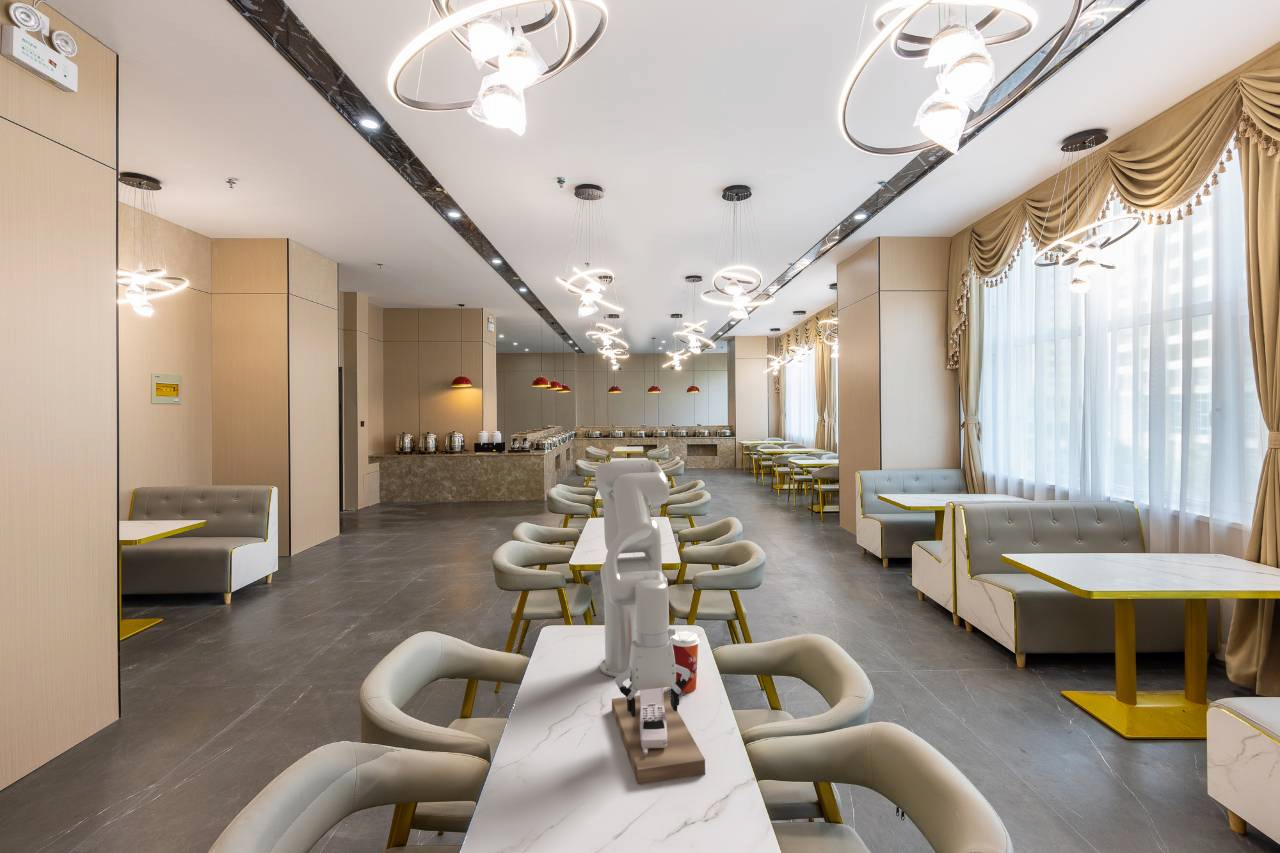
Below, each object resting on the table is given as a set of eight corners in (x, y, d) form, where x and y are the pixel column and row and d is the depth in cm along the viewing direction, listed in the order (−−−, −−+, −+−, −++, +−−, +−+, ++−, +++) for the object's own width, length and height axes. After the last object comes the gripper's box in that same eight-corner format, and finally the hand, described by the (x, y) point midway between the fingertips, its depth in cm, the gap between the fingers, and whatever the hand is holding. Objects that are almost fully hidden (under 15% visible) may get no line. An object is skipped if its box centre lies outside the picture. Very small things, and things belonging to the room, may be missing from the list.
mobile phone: (663, 674, 150) (668, 728, 125) (663, 698, 150) (669, 756, 125) (638, 675, 150) (639, 729, 125) (639, 699, 150) (640, 757, 125)
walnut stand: (611, 710, 151) (611, 698, 150) (666, 703, 154) (666, 691, 153) (638, 784, 121) (637, 769, 121) (705, 774, 124) (705, 759, 124)
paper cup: (698, 695, 157) (697, 642, 157) (668, 693, 159) (668, 640, 158) (701, 682, 165) (700, 631, 164) (673, 680, 167) (672, 629, 166)
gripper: (684, 626, 142) (685, 698, 143) (611, 634, 138) (612, 707, 139) (694, 639, 135) (695, 714, 136) (617, 647, 131) (618, 724, 132)
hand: (653, 711), depth 137 cm, fingers open, 9 cm apart
